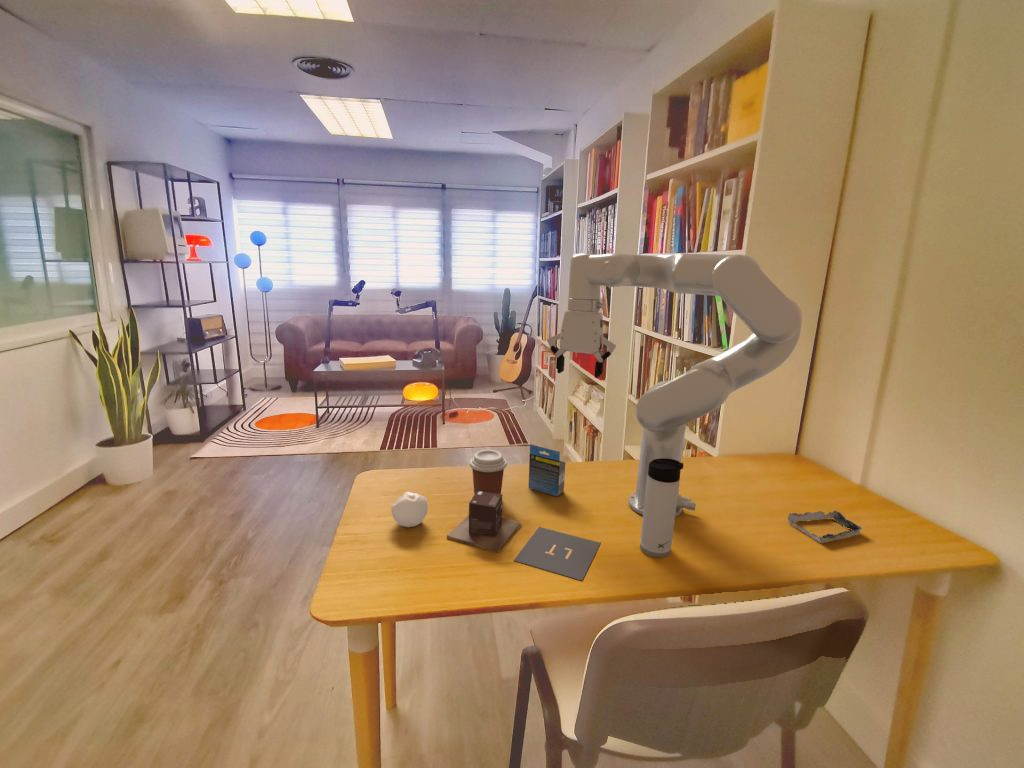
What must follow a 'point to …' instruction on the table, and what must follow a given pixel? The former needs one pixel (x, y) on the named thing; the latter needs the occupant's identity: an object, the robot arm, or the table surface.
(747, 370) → the robot arm
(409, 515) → the white rounded piece
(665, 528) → the travel mug
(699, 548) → the table surface
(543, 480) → the label tape cartridge
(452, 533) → the walnut pad
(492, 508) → the box
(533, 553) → the mat
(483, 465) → the coffee cup
